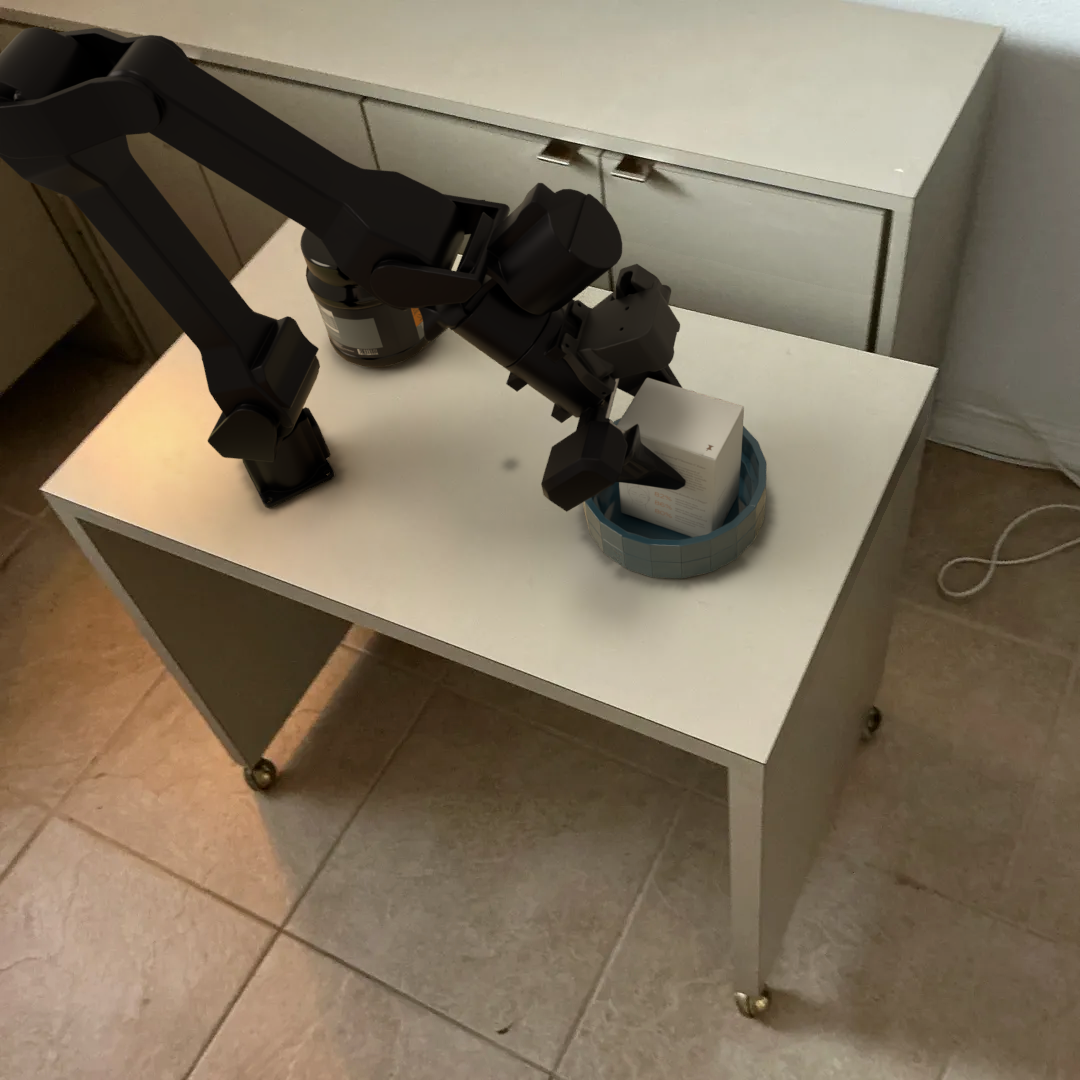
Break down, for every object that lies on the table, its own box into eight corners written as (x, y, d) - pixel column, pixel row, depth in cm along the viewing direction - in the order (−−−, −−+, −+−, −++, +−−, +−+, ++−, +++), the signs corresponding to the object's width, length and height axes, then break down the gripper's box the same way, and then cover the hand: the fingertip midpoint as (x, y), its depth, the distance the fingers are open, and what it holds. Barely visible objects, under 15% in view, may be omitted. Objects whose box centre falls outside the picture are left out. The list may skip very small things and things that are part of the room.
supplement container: (453, 299, 108) (427, 195, 99) (422, 377, 103) (391, 274, 93) (352, 293, 111) (318, 191, 101) (316, 369, 105) (276, 268, 96)
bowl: (644, 610, 84) (640, 576, 81) (555, 488, 93) (548, 453, 89) (801, 527, 87) (804, 490, 84) (701, 416, 95) (700, 378, 92)
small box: (739, 494, 89) (748, 405, 81) (712, 547, 87) (717, 460, 78) (647, 463, 92) (646, 373, 83) (618, 513, 89) (613, 426, 81)
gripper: (570, 376, 67) (753, 510, 73) (627, 182, 77) (782, 314, 83) (467, 452, 75) (639, 566, 81) (531, 267, 85) (679, 381, 91)
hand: (688, 452), depth 84 cm, fingers closed on small box, 6 cm apart
